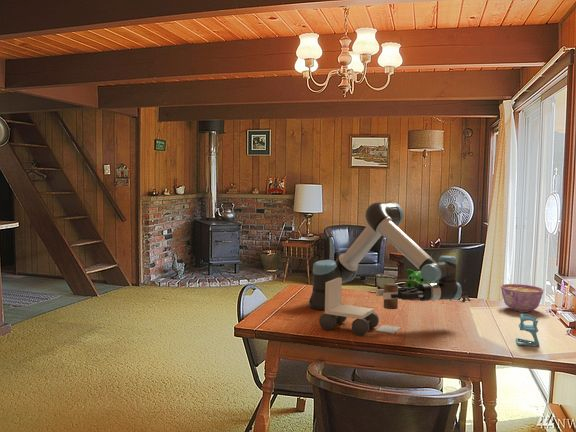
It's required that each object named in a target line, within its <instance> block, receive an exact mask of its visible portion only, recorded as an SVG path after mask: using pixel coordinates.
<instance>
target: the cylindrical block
mask: <svg viewBox="0 0 576 432" xmlns="http://www.w3.org/2000/svg"><path fill="white" fill-rule="evenodd" d="M398 287H399V284H397V283H395V284H392V283H387V284H384V293H388V292H398ZM398 304H399V299H383V309H386V310H397V309H398V308H399V305H398Z"/></svg>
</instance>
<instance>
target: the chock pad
mask: <svg viewBox="0 0 576 432" xmlns="http://www.w3.org/2000/svg"><path fill="white" fill-rule="evenodd" d="M400 329H401V327H400V326H393V325H387V324H382V325H381V326H379V327H378V328H377V329H375V332H380V333H384V334H392V335H395V334H396V332H398V331H399V330H400Z"/></svg>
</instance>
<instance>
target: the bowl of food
mask: <svg viewBox="0 0 576 432" xmlns="http://www.w3.org/2000/svg"><path fill="white" fill-rule="evenodd" d="M500 289H501V295H502V300H503V302H504V304H505V305H506V306H507V307H508V308H510V309H513V310H512V311H514V310H516V311H515V312H518V311H521V312H520V313H529V312H531V311H533V310H536V309H538V307H539V305H540V304H541V300H542V297H543V294H544V292H545V289H544V288H541V287H539V286H535V285H534V286H533V285H528V284H522V283H521V284H520V283H519V284H518V283H507V284H501V286H500Z"/></svg>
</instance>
